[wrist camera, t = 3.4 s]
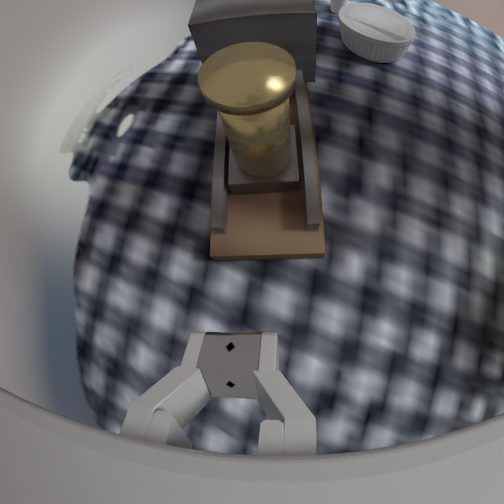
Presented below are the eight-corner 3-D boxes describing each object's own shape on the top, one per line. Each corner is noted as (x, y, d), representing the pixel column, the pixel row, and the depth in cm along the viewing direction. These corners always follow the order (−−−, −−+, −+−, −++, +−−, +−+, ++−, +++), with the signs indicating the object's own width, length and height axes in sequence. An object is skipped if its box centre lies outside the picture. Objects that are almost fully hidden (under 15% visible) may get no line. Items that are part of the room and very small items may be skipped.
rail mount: (218, 69, 34) (196, 0, 22) (308, 63, 32) (308, -11, 21) (205, 261, 28) (148, 220, 16) (333, 257, 27) (362, 211, 15)
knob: (234, 140, 28) (202, 48, 16) (294, 136, 27) (291, 39, 16) (232, 193, 27) (192, 108, 15) (298, 190, 26) (300, 99, 14)
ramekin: (344, 66, 32) (348, 37, 27) (329, 25, 34) (330, -1, 29) (418, 73, 30) (428, 47, 25) (394, 31, 33) (399, 7, 28)
